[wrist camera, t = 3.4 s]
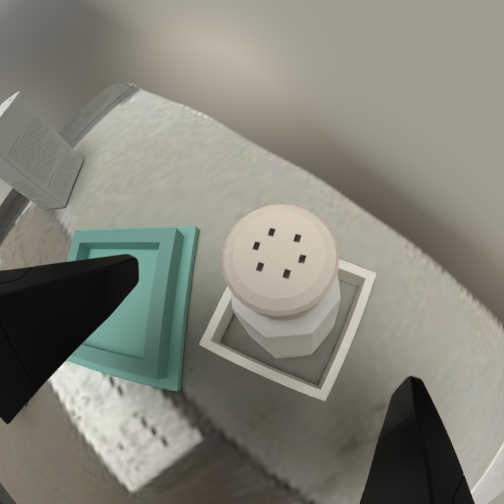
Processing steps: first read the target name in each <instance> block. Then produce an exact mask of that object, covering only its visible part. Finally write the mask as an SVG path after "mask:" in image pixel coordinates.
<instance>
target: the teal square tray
mask: <svg viewBox="0 0 504 504" xmlns="http://www.w3.org/2000/svg"><path fill="white" fill-rule="evenodd" d="M198 232H199V230H198V228H197V227H196V226H184V227H143V228H113V229H89V230H81V231H75V233H74V237H73V240H72V244H71V248H70V252H69V256H68V260H67V262H69V261H77V260H84V259H91V258H98V257H106V256H113V255H121V254H130V255H132V256H134V257H136V258H137V259H138V262H139V282H138V284H137V285H136V287H135V288H134V289H133V290H132V291H131V292H130V294H129V295H128V296H127V297H126V298H125V299H124V301H123V302H122V303H121V304H120V305H119V306H118V308H117V309H116V310H115V311H114V312H113V313H112V315H111V316H110V317H109V318H108V319H107V320H106V321H105V322H104V323H103V324H102V325H101V326H100V327H98V328H97V329H96V330H95V331H94V332H93V333H92V334H91V335H90V336H89V337H88V338H87V339H86V340H85V341H84V342H83V343H82V344H81V345H80V347H79V348H78V349H77V350H76V351H75V352H74V353H73V354H72V355H71V356H70V357H69V358H68V359H67V361H70V362H73V363H75V364H78V365H81V366H84V367H87V368H90V369H93V370H96V371H99V372H102V373H105V374H109V375H112V376H115V377H119V378H122V379H126V380H130V381H133V382H137V383H141V384H145V385H149V386H154V387H158V388H162V389H167V390H172V391H180V390H181V376H182V364H183V353H184V342H185V332H186V322H187V313H188V304H189V296H190V288H191V280H192V273H193V265H194V258H195V251H196V245H197V238H198Z"/></svg>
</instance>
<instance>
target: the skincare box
mask: <svg viewBox="0 0 504 504" xmlns="http://www.w3.org/2000/svg"><path fill="white" fill-rule="evenodd" d="M82 163H83V159H82V158H81V157H80V156H79V155H78V154H77V153H76V152H75V151H74V150H73V148H72V147H71V146H70V145H69V144H68V143H67V142H66V141H65V140H64V139H63V138H62V137H61V136H60V135H59V134H58V133H57V132H56V131H55V130H54V128H52V126H51V125H50V124H49V123H48V122H47V121H46V120H45V119H44V118H43V117H42V116H41V114H40V113H39V112H38V111H37V110H36V109H35V108H34V107H33V105H32V104H31V103H30V102H29V101H28V100H27V99H26V97H25V96H24V95H23V94H22V93H21V92H20V91H19V92H17V93H16V94H14V95H13V96H12V97H10V98H9V99H7V100H6V101H5V102H4V103H2V104H1V105H0V178H1V179H3V180H4V181H5V182H6V183H8V184H9V185H10V186H12V187H13V188H14V189H16V190H17V191H18V192H20V193H21V194H23V195H24V196H25V197H27V198H28V199H29V200H31V201H32V202H34V203H35V204H36V205H38V206H39V207H41V208H42V209H44V210H48V209H55V208H63V207H65V206H66V204H67V201H68V198H69V195H70V192H71V190H72V187H73V185H74V182H75V179H76V177H77V175H78V172H79V170H80V167H81V165H82Z"/></svg>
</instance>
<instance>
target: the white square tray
mask: <svg viewBox="0 0 504 504" xmlns="http://www.w3.org/2000/svg"><path fill="white" fill-rule="evenodd" d="M375 276H376V273H374V272H371V271H369V270H366V269H364V268H361V267H358V266H356V265H353V264H351V263H348V262H346V261H343V260H340V259H339V268H338V279H340V280H342V281H345V282H347V283H350V284H352V285H355V286H358V289H357V292H356V295H355V298H354V301H353V303H352V306H351V309H350V311H349V314H348V317H347V319H346V322H345V324H344V327H343V329H342V332H341V334H340V337H339V339H338V342H337V344H336V346H335V349H334V351H333V353H332V356H331V358H330V360H329V363H328V365H327V367H326V369H325V371H324V374H323V376H322V378H321V380H320V382H319V384H318V386H317V385H315V384H312V383H310V382H307V381H305V380H302V379H300V378H297V377H295V376H292V375H290V374H288V373H285V372H283V371H280V370H278V369H276V368H274V367H271V366H269V365H267V364H264V363H262V362H260V361H258V360H256V359H253V358H251V357H249V356H247V355H245V354H243V353H241V352H238V351H236V350H234V349H232V348H230V347H228V346H226V345H224V344H222V343H220V341H221V339H222V337H223V335H224V333H225V331H226V329H227V327H228V325H229V322H230V320H231V318H232V316H233V314H234V311H233V309H232V297H231V291H230V289H229V287H228V286H227V288H226V290H225V292H224V294H223V296H222V298H221V300H220V302H219V304H218V306H217V308H216V310H215V312H214V314H213V316H212V318H211V320H210V322H209V325H208V327H207V329H206V331H205V333H204V335H203V337H202V339H201V341H200V343H199V345H200V346H202V347H204V348H206V349H208V350H210V351H212V352H214V353H216V354H218V355H220V356H222V357H224V358H226V359H228V360H230V361H232V362H234V363H236V364H238V365H240V366H242V367H244V368H246V369H248V370H250V371H253V372H255V373H257V374H259V375H261V376H264V377H266V378H268V379H270V380H273V381H275V382H277V383H280V384H282V385H284V386H287V387H289V388H292V389H294V390H296V391H299V392H301V393H304V394H307V395H309V396H312V397H314V398H317V399H320V400H322V401H326V399H327V397H328V395H329V393H330V391H331V388H332V386H333V384H334V382H335V380H336V378H337V376H338V373H339V371H340V369H341V367H342V364H343V362H344V360H345V357H346V355H347V353H348V350H349V348H350V345H351V343H352V340H353V338H354V335H355V333H356V330H357V328H358V325H359V322H360V320H361V317H362V314H363V311H364V309H365V306H366V303H367V300H368V297H369V294H370V291H371V288H372V285H373V282H374V279H375Z"/></svg>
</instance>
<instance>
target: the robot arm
mask: <svg viewBox="0 0 504 504" xmlns="http://www.w3.org/2000/svg"><path fill="white" fill-rule="evenodd" d="M138 282H139V262H138V259H137V258H136V257H134V256H132V255H130V254H121V255H113V256H106V257H98V258H91V259H84V260H77V261H69V262H62V263H55V264H48V265H41V266H35V267H27V268H20V269H13V270H2V271H0V417H1V419H2V420H3V421H4V422H5V423H6V424H9V423H10V422H11V421H12V420H13V418H14V417H15V416H16V415H17V414H18V413H19V412H20V410H21V409H22V408H23V407H24V406H25V405H26V403H27V402H28V401H29V400H30V399H31V398H32V397H33V396H34V394H35V393H36V392H37V391H38V389H40V388H41V387H42V385H43V384H44V383H45V382H46V381H47V380H48V379H49V378H50V377H51V376H52V375H53V374H54V373H55V371H56V370H57V369H58V368H59V367H60V366H61V365H62V364H63V363H64V362H65V361H66V360H67V359H68V358H69V357H70V356H71V355H72V354H73V353H74V352H75V351H76V350H77V349H78V348H79V347H80V345H81V344H82V343H83V342H84V341H85V340H86V339H87V338H88V337H89V336H90V335H91V334H92V333H93V332H94V331H95V330H96V329H97V328H98V327H100V326H101V325H102V324H103V323H104V322H105V321H106V320H107V319H108V318H109V317H110V316H111V315H112V313H113V312H114V311H115V310H116V309H117V308H118V306H119V305H120V304H121V303H122V302H123V301H124V299H125V298H126V297H127V296H128V295H129V294H130V292H131V291H132V290H133V289H134V288H135V287H136V285H137V284H138ZM463 474H464V473H463V470H462V468H461V465H460V463H459V460H458V457H457V455H456V452H455V450H454V448H453V445H452V443H451V440H450V438H449V436H448V434H447V431H446V429H445V427H444V425H443V422H442V420H441V418H440V416H439V414H438V411H437V409H436V407H435V405H434V403H433V401H432V399H431V397H430V395H429V393H428V391H427V389H426V387H425V385H424V383H423V381H422V380H421V379H420V378H417V377H414V376H409V377H407V378H406V379H405V380H404V381H403V383H402V384H401V385H400V386H399V387H398V388H397V389H396V391H395V392H394V393H393V395H392V397H391V400H390V403H389V407H388V410H387V414H386V417H385V420H384V423H383V427H382V430H381V433H380V436H379V439H378V442H377V445H376V449H375V453H374V457H373V461H372V465H371V468H370V472H369V475H368V479H367V482H366V485H365V489H364V492H363V495H362V498H361V501H360V504H475V503H474V500H473V498H472V495H471V492H470V489H469V487H468V484H467V481H466V478H465V476H464V475H463ZM0 504H16V502H15V501H14V500H13V499H12V497H11V496H10V495H9V494H8V492H7V491H6V490H5V488H4V487H3V486H2V484H1V483H0Z"/></svg>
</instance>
